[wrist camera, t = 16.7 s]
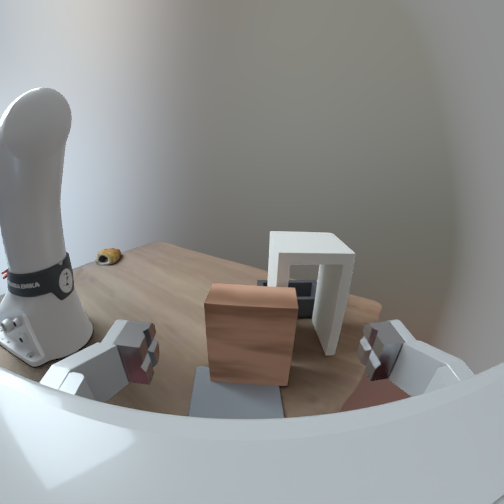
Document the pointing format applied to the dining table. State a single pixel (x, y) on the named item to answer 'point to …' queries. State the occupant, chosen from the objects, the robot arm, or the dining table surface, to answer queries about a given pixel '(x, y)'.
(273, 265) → the white arch frame
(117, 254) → the pastry
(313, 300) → the bin
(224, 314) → the block
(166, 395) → the dining table surface
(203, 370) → the mat
